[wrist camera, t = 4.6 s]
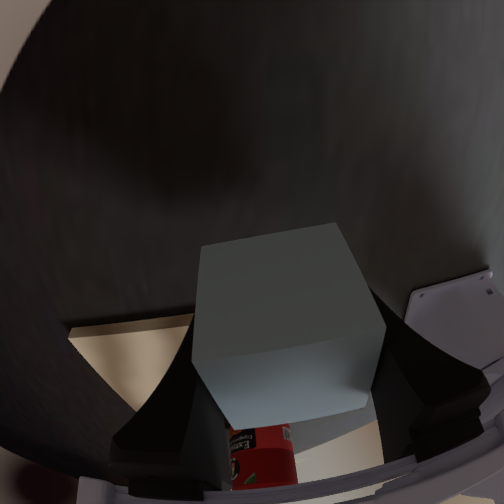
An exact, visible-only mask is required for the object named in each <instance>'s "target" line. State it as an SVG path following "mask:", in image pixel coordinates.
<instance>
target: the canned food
mask: <svg viewBox="0 0 504 504" xmlns="http://www.w3.org/2000/svg"><path fill="white" fill-rule="evenodd" d="M229 437H230V460H231V480H232V485H233V487H232V491H233V490H249V489H260V488H270V487H279V486H286V485H293V484H298V479H297V473H296V466H295V459H294V452H293V446H292V439H291V433H290V426H289V424H288V423H286V424H279V425H272V426H265V427H257V428H249V429H239V430H234V429H233V427H232V426H230V429H229Z"/></svg>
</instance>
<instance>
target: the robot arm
mask: <svg viewBox="0 0 504 504" xmlns="http://www.w3.org/2000/svg"><path fill="white" fill-rule="evenodd" d="M492 274H493V272H492V271H491V270H490V269H488V270H485V271H482V272H478V273H475V274H472V275H468V276H465V277H462V278H458V279H455V280H451V281H447V282H444V283H440V284H437V285H433V286H429V287H425V288H422V289H418V290H415V291H413V292H412V293H411V295H410V299H409V303H408V307H407V311H406V315H405V319H404V321H403V320H402V319H400V318H399V317H398V316H397V315H396V314H395V313H394V312H393V311H392V310H391V309H390V308H389V307H388V306H387V305H386V304H385V303H384V302H383V301H382V300H381V299H380V298H379V297H378V296H377V295H376V294H375V293H374V292H373V291H372V290H371V288H370V287H369V286H368V287H369V290H370V292H371V294H372V296H373V298H374V300H375V302H376V305H377V307H378V309H379V311H380V313H381V316H382V318H383V320H384V322H385V325H386V331H385V335H384V340H383V344H382V348H381V352H380V356H379V360H378V364H377V368H376V372H375V375H374V379H373V382H372V386H371V393H372V397H373V402H374V406H375V411H376V415H377V420H378V425H379V431H380V436H381V443H382V450H383V457H384V464H383V465H380V466H376V467H373V468H369V469H366V470H362V471H358V472H354V473H350V474H346V475H341V476H337V477H332V478H328V479H322V480H317V481H312V482H306V483H300V484H293V485H286V486H279V487H270V488H260V489H249V490H233V491H230V490H231V489H232V487H233V485H232V480H231V473H230V467H229V459H228V451H227V443H226V433H225V422H224V414H223V412H222V411H221V409H220V408H219V406H218V404H217V403H216V401H215V400H214V398H213V396H212V395H211V393H210V392H209V390H208V388H207V387H206V385H205V383H204V382H203V380H202V379H201V377H200V375H199V373H198V372H197V370H196V368H195V367H194V365H193V363H192V348H193V334H194V320H195V312H194V315H193V317H192V320H191V322H190V325H189V327H188V330H187V332H186V334H185V336H184V338H183V341H182V343H181V345H180V347H179V349H178V351H177V353H176V355H175V357H174V359H173V361H172V363H171V364H170V366H169V368H168V370H167V371H166V373H165V375H164V376H163V378H162V379H161V381H160V383H159V384H158V386H157V387H156V388H155V390H154V391H153V393H152V394H151V395H150V397H149V398H148V399H147V401H146V402H145V403H144V404H143V405H142V407H141V408H140V409H139V410H138V411H137V412H136V414H135V415H134V416H133V417H132V418H131V419H130V420H129V421H128V422H127V423H126V424H125V425H124V426H123V427H122V428H121V429H120V430H119V431H118V432H117V433H116V434H115V435H114V436H113V438H112V442H111V446H110V452H109V460H108V466H109V467H110V468H111V469H112V470H114V471H115V472H117V473H119V474H121V475H123V476H125V477H127V478H129V486H128V487H123V486H116V485H113V484H112V483H110V482H107V481H104V480H99V479H94V478H88V477H83V476H81V477H80V479H79V488H78V496H77V504H279V503H287V502H294V501H300V500H307V499H313V498H319V497H324V496H329V495H333V494H338V493H343V492H347V491H351V490H355V489H359V488H363V487H367V486H370V485H373V484H377V483H380V482H384V481H387V480H390V479H393V478H397V477H399V478H397V479H395V480H392V481H389V482H387V483H384V484H383V486H382V488H380V489H378V490H376V491H375V495H370V496H366V497H362V498H358V499H353V500H349V501H344V502H340V503H335V504H439V503H441V502H443V501H445V500H448V499H450V498H452V497H454V496H456V495H458V494H461V495H466V496H472V497H480V498H488V499H493V500H494V502H495V504H504V297H503V295H502V294H501V293H500V291H499V290H498V289H497V287H496V286H495V284H494V283H493V282H492V281H491V277H492ZM411 472H412V473H411ZM408 473H409V474H408ZM405 474H407V475H405ZM403 475H404V476H403ZM400 476H402V477H400Z"/></svg>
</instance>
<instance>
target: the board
mask: <svg viewBox="0 0 504 504" xmlns="http://www.w3.org/2000/svg"><path fill="white" fill-rule="evenodd" d="M193 315H194V313H191V314H184V315H177V316H170V317H162V318H155V319H147V320H139V321H131V322H123V323H114V324H105V325H96V326H86V327H76V328H72V329H71V331H70V334H69V337H68V339H69V340H70V341H71V343H72V344H73V345H74V346H75V347H76V349H77V350H78V351H79V352H80V353H81V354H82V356H83V357H84V358H85V359H86V360H87V361H88V362H89V364H90V365H91V366H92V367H93V368H94V369H95V370H96V371H97V372H98V374H99V375H100V376H101V377H102V378H103V379H104V380H105V381H106V382H107V383H108V384H109V385H110V386H111V387H112V388H113V389H114V390H115V391H116V392H117V393H118V394H119V395H120V396H121V397H122V398H123V399H124V400H125V401H126V402H127V403H128V404H129V405H130V406H131V407H132V408H133V409H134V410H135V411H136V412H137V411H138V410H139V409H140V408H141V407H142V405H143V404H144V403H145V402H146V401H147V399H148V398H149V397H150V395H151V394H152V393H153V391H154V390H155V388H156V387H157V386H158V384H159V383H160V381H161V379H162V378H163V376H164V375H165V373H166V371H167V370H168V368H169V366H170V364H171V363H172V361H173V359H174V357H175V355H176V353H177V351H178V349H179V347H180V345H181V343H182V341H183V338H184V336H185V334H186V332H187V330H188V327H189V325H190V322H191V320H192V317H193Z"/></svg>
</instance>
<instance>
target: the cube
mask: <svg viewBox="0 0 504 504" xmlns="http://www.w3.org/2000/svg"><path fill="white" fill-rule="evenodd" d="M385 331H386V325H385V322H384V320H383V318H382V316H381V313H380V311H379V309H378V307H377V305H376V302H375V300H374V298H373V296H372V294H371V292H370V290H369V287H368V285H367V283H366V281H365V279H364V277H363V275H362V273H361V271H360V269H359V267H358V265H357V263H356V261H355V259H354V257H353V255H352V253H351V251H350V249H349V247H348V245H347V243H346V241H345V239H344V237H343V235H342V233H341V231H340V229H339V228H338V226H337V224H336V222H335V223H329V224H323V225H318V226H312V227H306V228H301V229H295V230H289V231H284V232H278V233H272V234H267V235H261V236H256V237H250V238H245V239H239V240H234V241H228V242H223V243H217V244H212V245H207V246H201V255H200V265H199V275H198V286H197V297H196V308H195V320H194V334H193V348H192V363H193V365H194V367H195V368H196V370H197V372H198V373H199V375H200V377H201V379H202V380H203V382H204V383H205V385H206V387H207V388H208V390H209V392H210V393H211V395H212V396H213V398H214V400H215V401H216V403H217V404H218V406H219V408H220V409H221V411H222V412H223V414H224V415H225V417H226V418H227V420H228V421H229V423H230V424H231V426H232V427H233V429H234V430H239V429H249V428H257V427H265V426H272V425H279V424H286V423H292V422H298V421H304V420H309V419H314V418H319V417H324V416H329V415H334V414H338V413H342V412H347V411H351V410H355V409H359V408H363V407H365V406H366V403H367V399H368V396H369V393H370V389H371V386H372V382H373V379H374V375H375V372H376V368H377V364H378V360H379V356H380V352H381V348H382V344H383V340H384V335H385Z"/></svg>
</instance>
